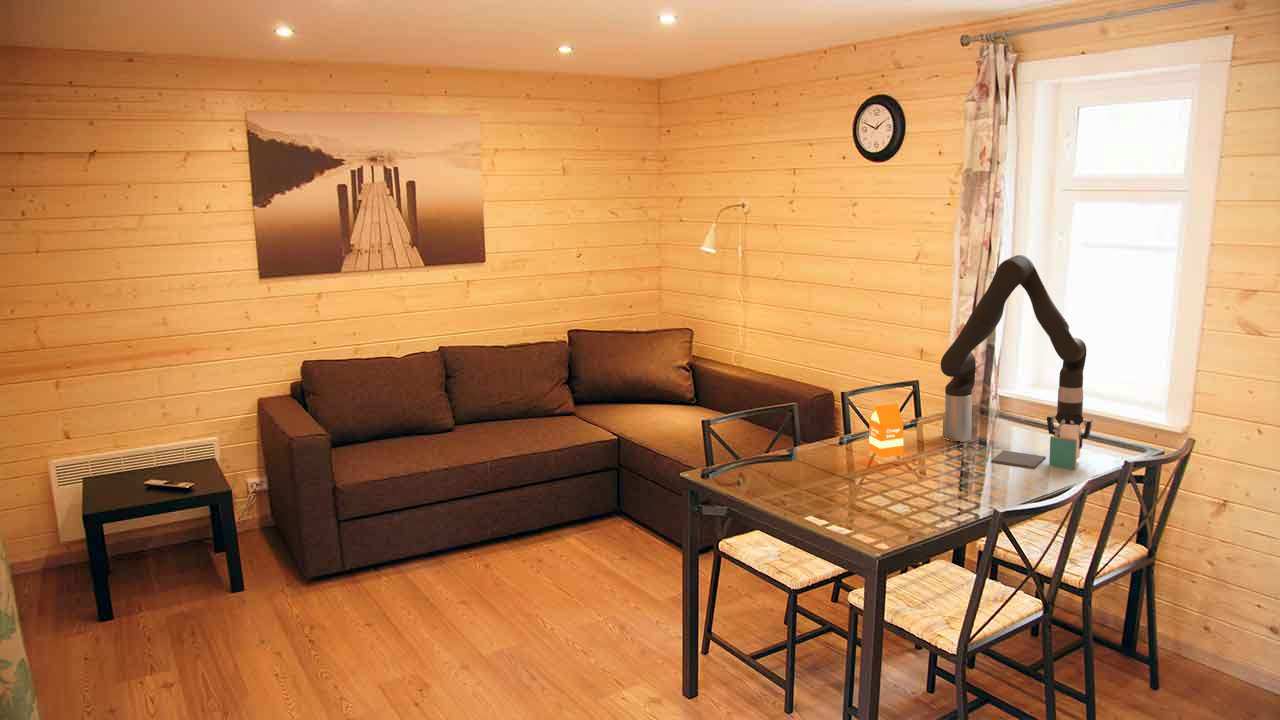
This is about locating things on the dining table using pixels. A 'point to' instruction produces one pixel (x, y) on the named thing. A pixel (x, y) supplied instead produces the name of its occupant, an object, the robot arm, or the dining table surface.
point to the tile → (1063, 452)
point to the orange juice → (886, 431)
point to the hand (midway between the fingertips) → (1068, 447)
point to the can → (1071, 433)
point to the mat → (1019, 459)
